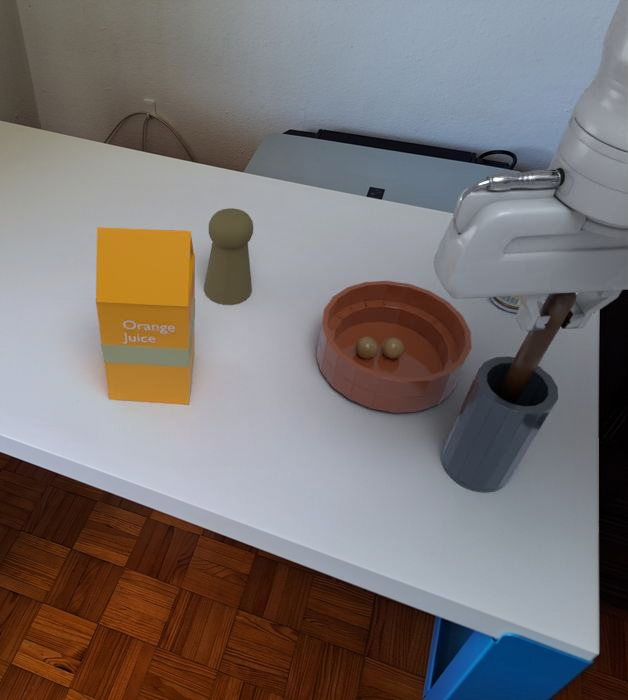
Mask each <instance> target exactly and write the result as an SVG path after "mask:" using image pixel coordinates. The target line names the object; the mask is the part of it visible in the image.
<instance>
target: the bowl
mask: <svg viewBox="0 0 628 700" xmlns="http://www.w3.org/2000/svg"><path fill="white" fill-rule="evenodd" d="M322 313H323V314H322V318H321V319H322V320H321V324H320V329H319V335H318V341H317V346H316V352H315V357H316V359H317V363H318V366H319V367H318V368H319V370H320V373H321V374H322V375H323V376H324V378H325V379H326V381H327V382H328V383H329V384H330V385H331V387H332V388H333V389H335V390H336V391H337V392H339V393H340V394H342V395H343V396H344V397H346V398H347V399H348V400H350V401H353V402H355V403H357V404H359V405H362V406H363V407H366V408H369V409H371V410H376V411H381V412H388V413H395V414H399V413H400V414H401V413H415V412H416V413H417V412H421V411H424V410H426V409H429V408H432V407H435V406H437V405H440V403H442V402H443V401H444V400H445V399H446V398H448V397H449V396H450V395H452V393H453V391H454V389H455V388H456V387H455V386H456V385H457V383H458V380H459V378H460V376H461V374H462V372H463V369H464V367H465V364H466V361H467V359H468V357H469V354H470V353H471V351H472V332H471V330H470V327H469V325H468V323H467V322H466V319H465V318H464V316H463V314H461V313H460V312H459V311H458V310H457V309H456V308H455V306H453V305H452V304H451V303H450V302H449V301H447V300H446V299H445V298H443V297H440V296H439V295H438V294H436V293H434V292H432V291H431V290H429V289H426V288H423V287H419V286H417V285H414V284H411V283H406V282H399V281H392V280H375V281H364V282H361V283H357V284H354V285H351V286H347V287H346V288H344V289H343V290H341V291H339V292H338V293H336V294H335V295H333V296H332V297H331V299H330V300H329V302H328V303H327V305H326V306H325V307H324V308H323V312H322ZM363 337H371V338H373V339H374V340H375V341H376V342H377V344H378V351H377V353H376V355H375V356H373V357H372V358H362V357H360V356H359V355H358V354H357V352H356V343H357V342H358V340H359V339H361V338H363ZM390 337H396V338H398V339H400V340H401V341H402V342H403V344H404V352H403V354H402V355H401V356H400V357H398V358H395V359H390V358H387V357H386V356H385V355H384V354H383V353H382V350H381V346H382V343H383V342H384V340H386V339H387V338H390Z"/></svg>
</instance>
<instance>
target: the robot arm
mask: <svg viewBox="0 0 628 700" xmlns="http://www.w3.org/2000/svg"><path fill="white" fill-rule="evenodd" d="M432 264H433V269H434V272H435V274H436V276H437V279H438V281H439V282H440V284H441V286H442V287H443V288H444V290H445V291H446V293H448V295H449V296H450V297H451V298H452V299H456V300H465V299H466V300H468V299H481V298H482V299H483V298H484V299H485V298H491V297H503V296H519V298H520V301H521V305H520V307H519V309H518V311H517V313H515V322H516V323H517V325H518V327H519V329H520V330H521V331H522V332H529V331H538V330H544V328H545V324H546V323H547V322H548V321H549V319H550V317H551V316H550V314H549V313H548V311H547V310H546V309H544V305H543V304H544V302H545V301H546V299H547V297H548V295H549V294H556V293H573V292H576V301H575V303H574V305H573V306H572V308H571V310H570V312H569V313H568V315H567V317H566V318H565V320H564V322H563V323H562V325H561V327H560V328H561V329H562V330H563V329H564V330H570V329H571V330H572V329H573V330H574V329H575V330H576V329H584V328H585V327H586V325H587V323H588V322H589V320H590V318H591V317H592V315H593V314H595V313H597V312H599V311H600V310H601V309H603V308H604V307H606V306H607V305H609V304H611V303H612V302H614V301H615V300H616V299H618V298H619V296H620V295H621V293H622V291H623V290H628V0H619V2H618V4H617V7H616V9H615V11H614V12H613V15H612V18H611V20H610V21H609V24H608V26H607V29H606V31H605V35H604V38H603V41H602V50H601V58H600V61H599V66H598V68H597V71H596V72H595V75H594V76H593V78H592V80H591V81H590V83H589V84H588V86H586V87H585V89H584V90H583V91H582V93H581V94H580V95H579V97H578V98H577V101H576V102H575V104H574V107H573V109H572V111H571V114H570V116H569V118H568V121H567V123H566V125H565V128H564V130H563V133H562V135H561V137H560V139H559V142H558V144H557V147H556V149H555V152H554V154H553V156H552V158H551V160H550V163H549V166H548V167H547V169H537V170H529V171H523V172H513V173H512V172H507V171H502V172H494V173H489V174H488V175H487V176H486V178H485V179H483V180H480V181H478V182H476V183H474V184H472V185H471V186H470V187H467V188H465V189H464V190H463V191H462V192H461V194H460V195H459V197H458V198H457V203H456V205H455V208H454V211H453V215H452V218H451V220H450V222H449V224H448V225H447V227H446V229H445V231H444V233H443V236H442V238H441V239H440V242H439V244H438V246H437V249H436V252H435V254H434V256H433V261H432Z"/></svg>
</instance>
